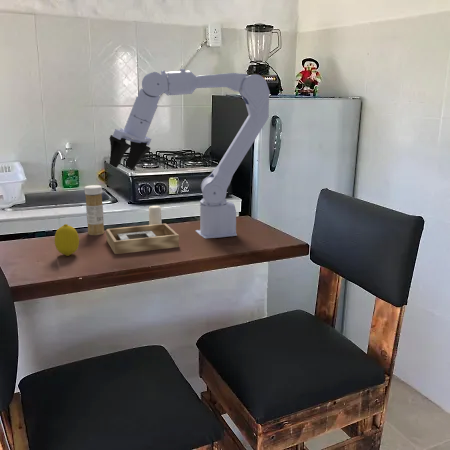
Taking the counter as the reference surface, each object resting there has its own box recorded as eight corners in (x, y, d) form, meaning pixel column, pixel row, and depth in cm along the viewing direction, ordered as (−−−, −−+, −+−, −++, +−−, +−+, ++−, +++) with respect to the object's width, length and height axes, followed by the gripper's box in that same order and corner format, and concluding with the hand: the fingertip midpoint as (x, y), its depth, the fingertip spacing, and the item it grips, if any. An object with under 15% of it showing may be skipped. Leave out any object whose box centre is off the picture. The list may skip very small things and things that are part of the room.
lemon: (54, 254, 122) (52, 222, 120) (78, 251, 124) (76, 220, 122) (57, 261, 117) (54, 228, 115) (81, 258, 119) (79, 225, 117)
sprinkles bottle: (100, 231, 142) (97, 184, 138) (107, 234, 139) (104, 186, 135) (84, 233, 139) (81, 185, 136) (92, 237, 136) (88, 188, 132)
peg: (160, 229, 144) (159, 205, 142) (163, 232, 141) (162, 207, 139) (148, 230, 143) (147, 206, 141) (151, 233, 140) (150, 208, 138)
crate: (166, 235, 138) (165, 223, 137) (179, 248, 127) (178, 234, 126) (106, 242, 132) (106, 229, 131) (115, 255, 121) (114, 241, 120)
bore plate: (151, 237, 135) (151, 230, 134) (160, 247, 127) (159, 239, 126) (117, 241, 131) (117, 233, 131) (124, 251, 123) (123, 243, 123)
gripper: (143, 116, 137) (125, 162, 140) (112, 107, 124) (92, 158, 126) (163, 126, 135) (145, 173, 138) (134, 118, 121) (114, 170, 124)
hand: (121, 166), depth 132 cm, fingers open, 7 cm apart
